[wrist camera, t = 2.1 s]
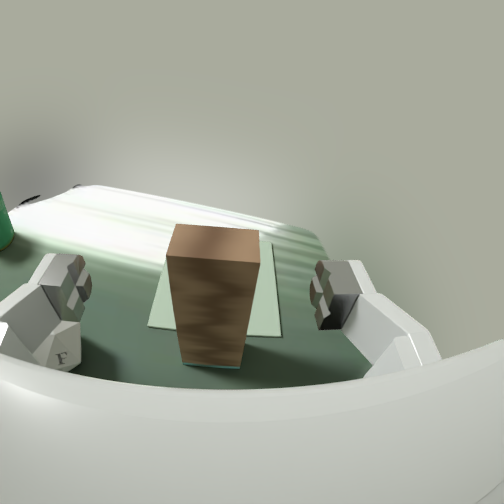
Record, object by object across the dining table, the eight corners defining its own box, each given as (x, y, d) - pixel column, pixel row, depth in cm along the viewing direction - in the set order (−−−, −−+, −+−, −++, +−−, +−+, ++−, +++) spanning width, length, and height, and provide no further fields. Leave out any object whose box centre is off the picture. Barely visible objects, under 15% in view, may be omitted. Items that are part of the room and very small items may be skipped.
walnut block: (182, 364, 32) (165, 255, 20) (186, 337, 35) (176, 223, 23) (239, 368, 32) (260, 262, 21) (239, 341, 35) (258, 230, 24)
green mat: (147, 326, 35) (147, 325, 35) (173, 235, 50) (173, 234, 50) (280, 337, 36) (280, 336, 36) (270, 243, 52) (271, 242, 51)
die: (36, 382, 25) (34, 380, 19) (19, 321, 27) (14, 301, 21) (85, 369, 31) (98, 364, 25) (68, 312, 33) (77, 292, 27)
